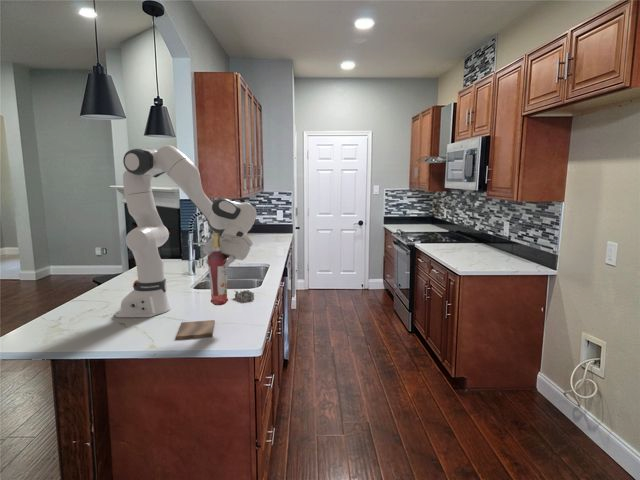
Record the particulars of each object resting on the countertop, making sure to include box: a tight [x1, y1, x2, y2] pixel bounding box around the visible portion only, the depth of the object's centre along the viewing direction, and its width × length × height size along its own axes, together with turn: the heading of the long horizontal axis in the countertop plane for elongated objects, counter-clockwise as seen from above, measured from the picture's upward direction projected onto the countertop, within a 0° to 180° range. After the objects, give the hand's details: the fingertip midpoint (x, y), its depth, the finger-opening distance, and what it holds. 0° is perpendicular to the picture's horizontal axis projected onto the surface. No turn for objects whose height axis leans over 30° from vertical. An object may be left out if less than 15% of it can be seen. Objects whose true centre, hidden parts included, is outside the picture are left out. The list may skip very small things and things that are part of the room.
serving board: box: [175, 319, 216, 340], centre depth 153 cm, size 13×15×1 cm
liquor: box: [207, 232, 229, 306], centre depth 152 cm, size 7×7×28 cm
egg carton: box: [233, 289, 255, 303], centre depth 196 cm, size 11×8×4 cm
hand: (216, 265), depth 151 cm, fingers closed on liquor, 7 cm apart
